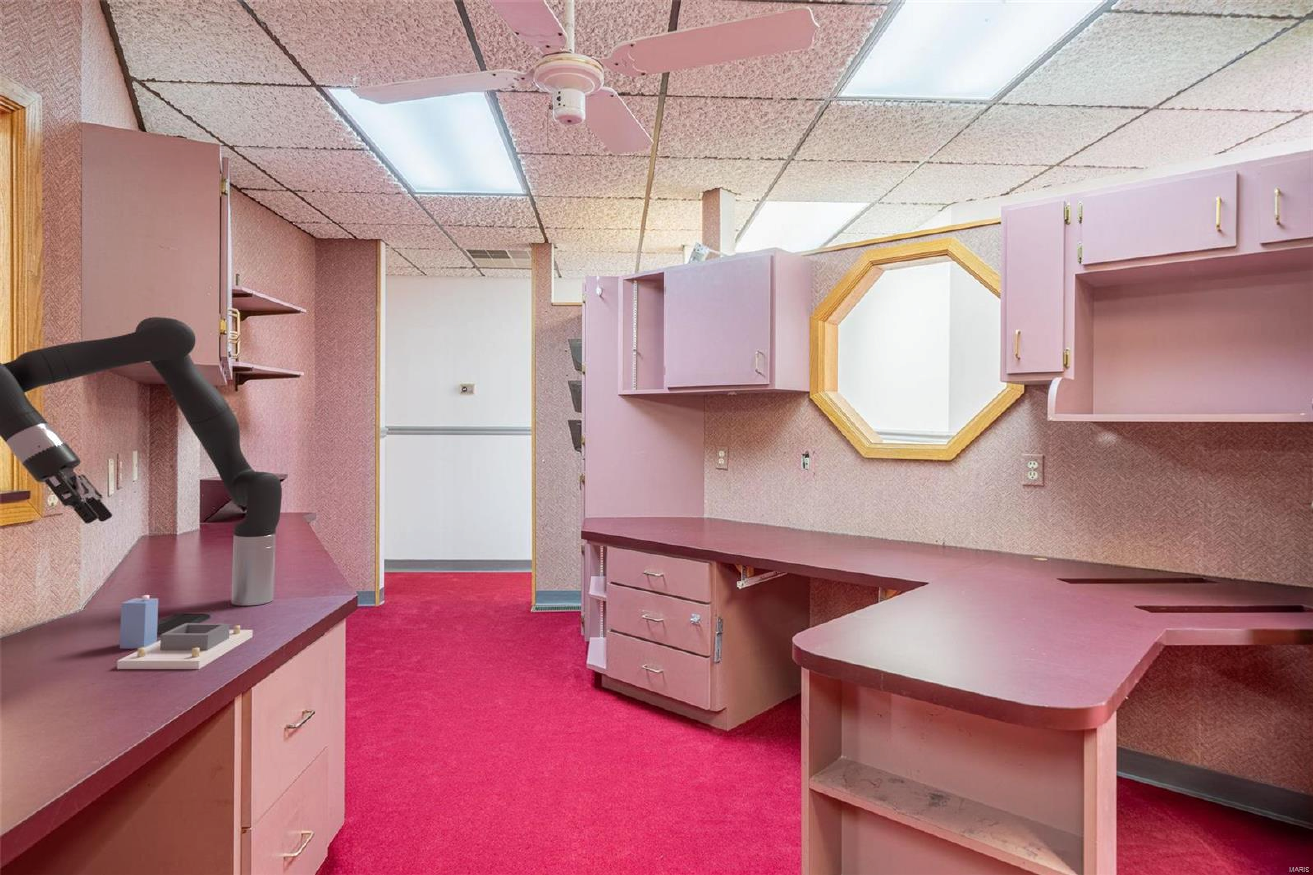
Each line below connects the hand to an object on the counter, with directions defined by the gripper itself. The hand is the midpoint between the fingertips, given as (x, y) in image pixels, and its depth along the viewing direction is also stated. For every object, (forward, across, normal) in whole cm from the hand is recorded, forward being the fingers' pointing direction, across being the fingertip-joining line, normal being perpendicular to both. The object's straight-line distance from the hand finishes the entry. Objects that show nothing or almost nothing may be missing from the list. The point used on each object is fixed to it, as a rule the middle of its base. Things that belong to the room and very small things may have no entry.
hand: (100, 520), depth 134 cm
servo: (+25, +2, +9) cm, 26 cm away
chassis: (+31, -6, +1) cm, 32 cm away
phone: (+26, +15, +6) cm, 31 cm away
